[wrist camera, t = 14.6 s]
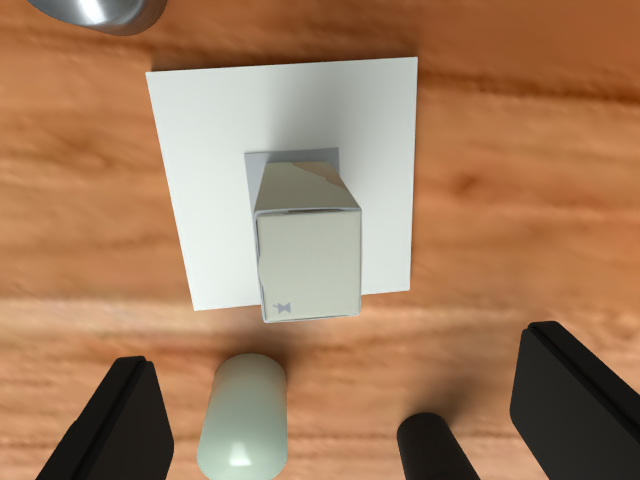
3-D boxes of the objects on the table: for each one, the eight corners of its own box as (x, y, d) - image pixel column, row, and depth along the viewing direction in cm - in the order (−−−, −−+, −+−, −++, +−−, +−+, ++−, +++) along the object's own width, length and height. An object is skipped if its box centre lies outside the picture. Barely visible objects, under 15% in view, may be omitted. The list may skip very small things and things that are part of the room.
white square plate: (412, 57, 24) (418, 56, 23) (405, 283, 30) (410, 291, 29) (150, 72, 23) (144, 72, 22) (197, 303, 29) (193, 311, 28)
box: (331, 232, 27) (361, 323, 17) (268, 235, 27) (260, 330, 16) (330, 155, 25) (365, 206, 15) (262, 158, 25) (250, 211, 15)
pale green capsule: (282, 349, 32) (283, 417, 25) (289, 405, 34) (291, 481, 28) (207, 357, 31) (189, 428, 25) (219, 413, 34) (204, 492, 27)
